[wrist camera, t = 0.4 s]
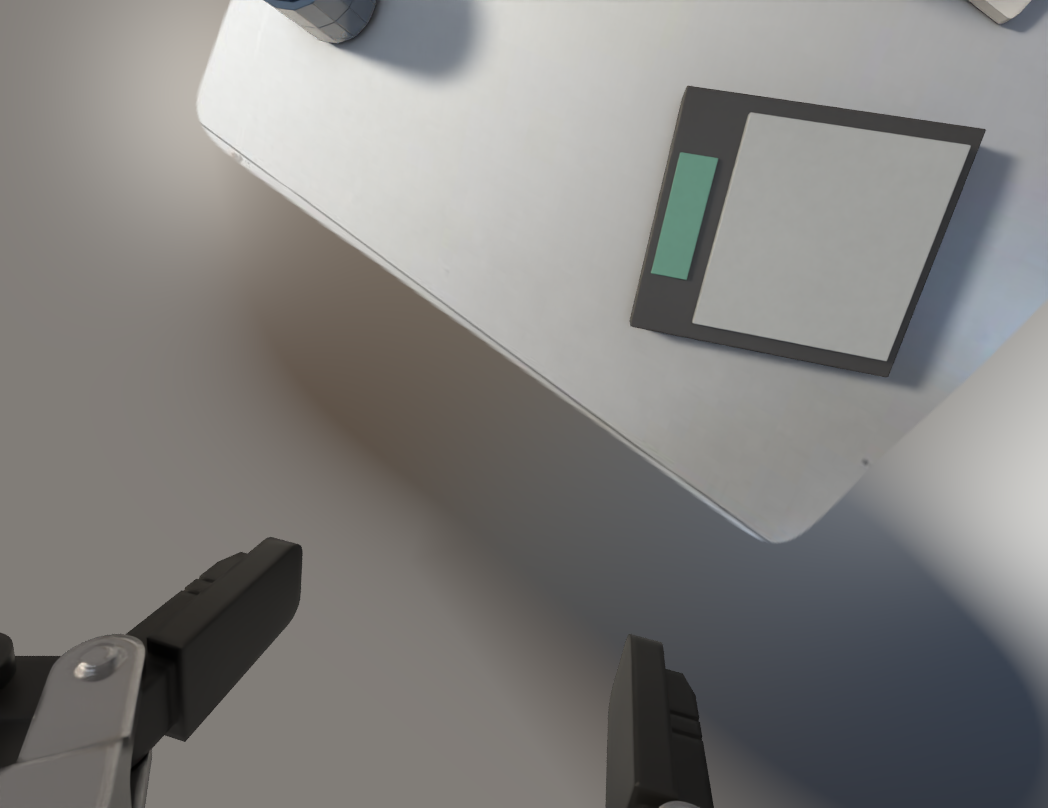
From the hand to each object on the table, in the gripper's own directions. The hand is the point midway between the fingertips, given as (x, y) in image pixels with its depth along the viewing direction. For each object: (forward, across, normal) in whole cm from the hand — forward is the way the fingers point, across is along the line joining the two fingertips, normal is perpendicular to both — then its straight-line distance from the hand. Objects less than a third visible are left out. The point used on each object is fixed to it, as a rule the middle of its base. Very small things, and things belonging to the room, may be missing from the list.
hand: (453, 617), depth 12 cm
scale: (+28, -12, -11) cm, 32 cm away
